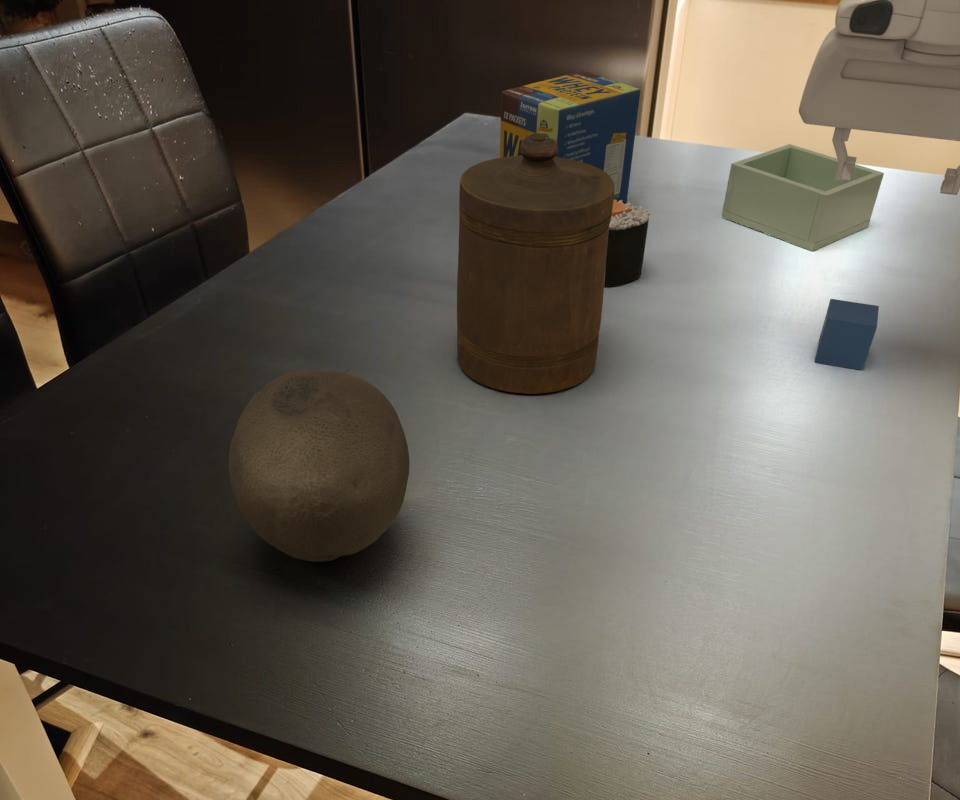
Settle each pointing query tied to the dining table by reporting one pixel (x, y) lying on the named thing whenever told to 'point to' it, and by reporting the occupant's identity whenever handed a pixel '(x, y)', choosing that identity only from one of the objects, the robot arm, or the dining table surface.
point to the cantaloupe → (319, 464)
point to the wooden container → (531, 268)
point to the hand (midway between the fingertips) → (894, 185)
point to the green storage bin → (800, 196)
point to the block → (847, 334)
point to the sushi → (625, 243)
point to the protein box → (576, 121)
